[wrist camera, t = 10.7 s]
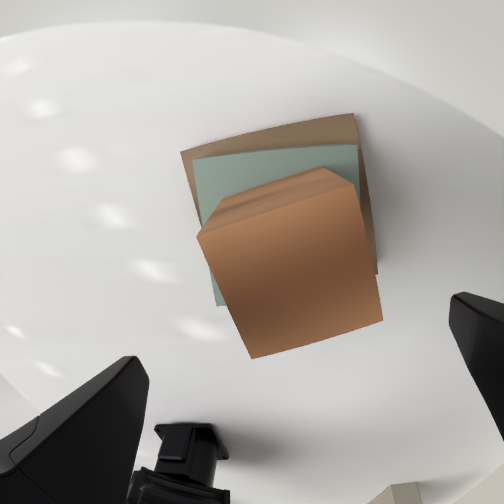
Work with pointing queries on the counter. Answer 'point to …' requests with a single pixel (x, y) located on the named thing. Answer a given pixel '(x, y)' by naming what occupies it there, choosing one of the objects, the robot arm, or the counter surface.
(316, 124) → the tower base
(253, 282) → the block
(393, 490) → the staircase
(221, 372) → the counter surface
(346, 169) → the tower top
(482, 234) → the counter surface
